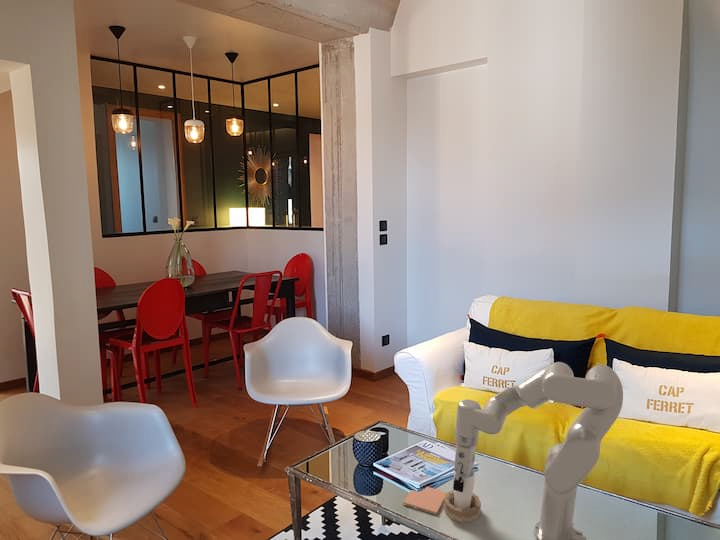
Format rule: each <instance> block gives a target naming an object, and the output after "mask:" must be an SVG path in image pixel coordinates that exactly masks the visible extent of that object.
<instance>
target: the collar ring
mask: <svg viewBox="0 0 720 540" xmlns="http://www.w3.org/2000/svg"><path fill="white" fill-rule="evenodd" d="M481 506H482V503H481V499H480V498H479V496H478V495H477V494H475V493H474V492H473V493H472V498H471V504H470V509H464V510H462V509H459V508H456V507H454V490H453V489H452V490H450V491H448V492H447V494H446V496H445V498H444V502H443V510H444V511H443V512H444V514H445V515H446V516H447V517H448V518H450V519H451V520H453V521H455V522H459V523H472V522H474V521H476V520H478V519H479V517H480V514H481V508H482V507H481ZM471 507H472V508H471Z"/></svg>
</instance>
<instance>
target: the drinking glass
mask: <svg viewBox="0 0 720 540" xmlns="http://www.w3.org/2000/svg"><path fill="white" fill-rule="evenodd" d="M461 472H463V470H461ZM455 473H456V472H455V471H453V478H454V477H455ZM475 473H476V472H475V471H474V469H473V468H472V469H471V471H470V473H469V475H465V474H464V479H463V481H464V486H463V492H459V491H456V490H454V502H453V506H454V507H456V508H459V509H462V510H464V509H471V505H470V504H471V498H472V493H474V492H473V491H474V486H475V476H476V475H475ZM460 477H461V478H462V474H460Z"/></svg>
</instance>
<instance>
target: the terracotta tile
mask: <svg viewBox="0 0 720 540" xmlns="http://www.w3.org/2000/svg"><path fill="white" fill-rule="evenodd" d="M447 493H448V492H447V491H444V490H440V489H437V488H434V487H431V486H427V487H426V488H425V489H423V490H422V491H419V492H416V491H414V490H411V489H410V491H409V492H408V493H407V495H406V497H405V499H404V500H403V503H402V504H406V505H410V506H412V507H411V508H413V507H416V508H418V509H417V510H419V509H421V510H420V511H422V510H424V512H426V513H429V512H430V514H432V513H433V514H432V515H435V514H436V515H438V513H439V512H440V509H441V507H442V506H443V505H444V498H445V496H446V494H447ZM406 505H405V506H406ZM416 508H415V509H416Z"/></svg>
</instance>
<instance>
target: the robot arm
mask: <svg viewBox="0 0 720 540" xmlns="http://www.w3.org/2000/svg"><path fill="white" fill-rule="evenodd" d="M549 401H553V402H556V403H559V404H562V405H569V406H570V405H571V406H575V407H583V408H584V409H583V411H582V412H581V413H580V414H579V416H578V417H577V418H576V419H575V421H574V422H573V423H572V425H570V426H569V428H568V429H567V431H566V436H565V440H564V442H562V443H561V442H560V443H556V444H554V445H553V446H552V447H551V448H550V449H549V450H548V453H547V455H546V461H545V466H544V467H545V468H544V486H543V492H542V493H543V494H542V501H541V511H540V521H538V522H537V523H536V524H535V525H534V528H533V533H534V536H535V538H536V539H537V540H587V536H585V535H583V533H584V531H582V530H578V529H576V528H574V522H573V521H574V512H575V506H576V505H575V504H576V498H577V491H578V487H579V486H580V485H581V484H582V482H583V481H584V480H585V479H586V477H587V476H588V475H589V474H590V473H591V471H592V470H593V468H595V466H596V465H597V463H598V461H599V459H600V454H601V444H602V440H603V439H604V437H605V436H606V434H607V433H608V431H610V429H611V427H612V426H613V425H614V423H615V422H616V421H617V419H618V417H619V415H620V413H621V411H622V407H623V401H624V391H623V385H622V382H621V380H620V377H619V376H618V374H617V372H616V371H615V370H614V369H612V367H610V366H608V365H607V364H606V365H605V364H596V365H594V366H593V367H591V368H590V369H589V370H588V371H587V373H586V374H585V378H584V377H576V376H574V372H573V369H572V368H571V367H570V366H569V365H568V364H567V363H565V362H562V361H556V362H552V363H551V364H549V365H547V366H546V367H543V369H541V370H539V371H538V372H536V373H535V374H533V375H532V376H530V377H529V378H527V379H525V380H524V381H522V382H521V383H519V384H516V385H513V386H511V387H508V388H506V389H504V390H502V391H501V392H499V393H497V394H496V395H494V396H493V397H491V398H490V399H489V400H488V401H486V403H485V404H484V407H483V408H482V406H481V404H480V403H479V402H477V401H475V400H473V399H462V400H460V401H459V402H458V403H457V408H456V421H455V430H454V431H455V432H454V442H455V443H456V449H455V457H454V463H453V465H454V466H453V470H454V471H455V472H456V473H455V477H454V476H453V485H452V490H456V491H459V492H463V486H464V481H463V479H464V474H465V475H469V473H470V471H471V469H472V470H473V468H474V465H475V462H476V452H477V451H476V449H477V447H476V446H477V445H478V443H479V433H480V432H483V433H485V434H487V435H497V434H499V433H500V432H501V431H502V430H503V426H504V423H505V421H506V418H507V417H508V416H509V415H510V414H512V413H514V412H515V411H517V410H519V409H521V408H523V407H527V408H528V407H529V408H530V409H534V410H535V409H537V408H539V407H540V406H542V405H543V404H546V403H547V402H549ZM461 470H463V472H461ZM454 471H453V472H454ZM460 474H462V478H461V477H460Z"/></svg>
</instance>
